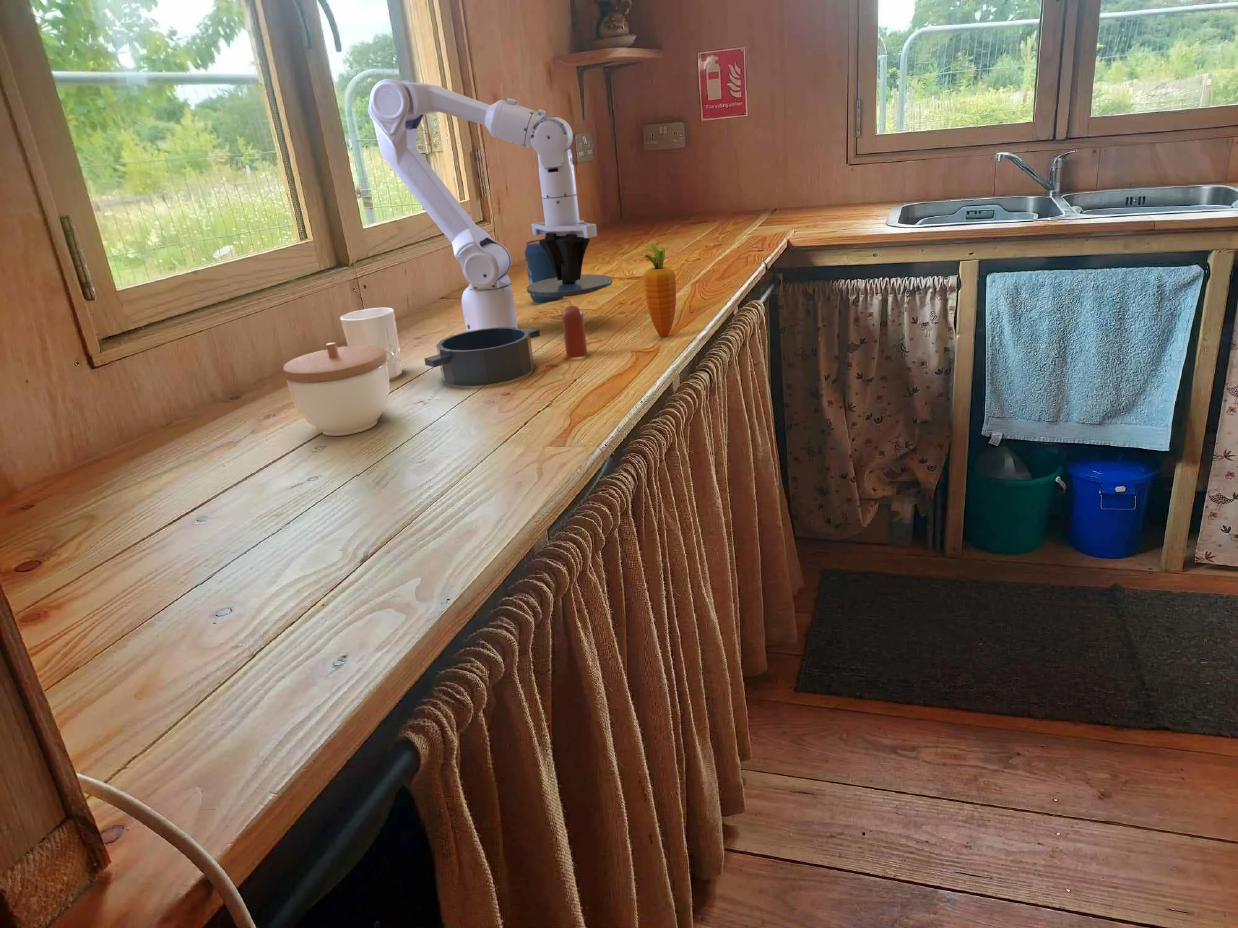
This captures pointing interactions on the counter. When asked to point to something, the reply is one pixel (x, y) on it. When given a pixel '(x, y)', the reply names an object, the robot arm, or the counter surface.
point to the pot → (485, 356)
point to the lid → (569, 285)
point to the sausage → (574, 332)
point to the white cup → (374, 333)
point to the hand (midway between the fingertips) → (569, 280)
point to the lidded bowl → (340, 387)
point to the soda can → (538, 269)
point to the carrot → (660, 292)
